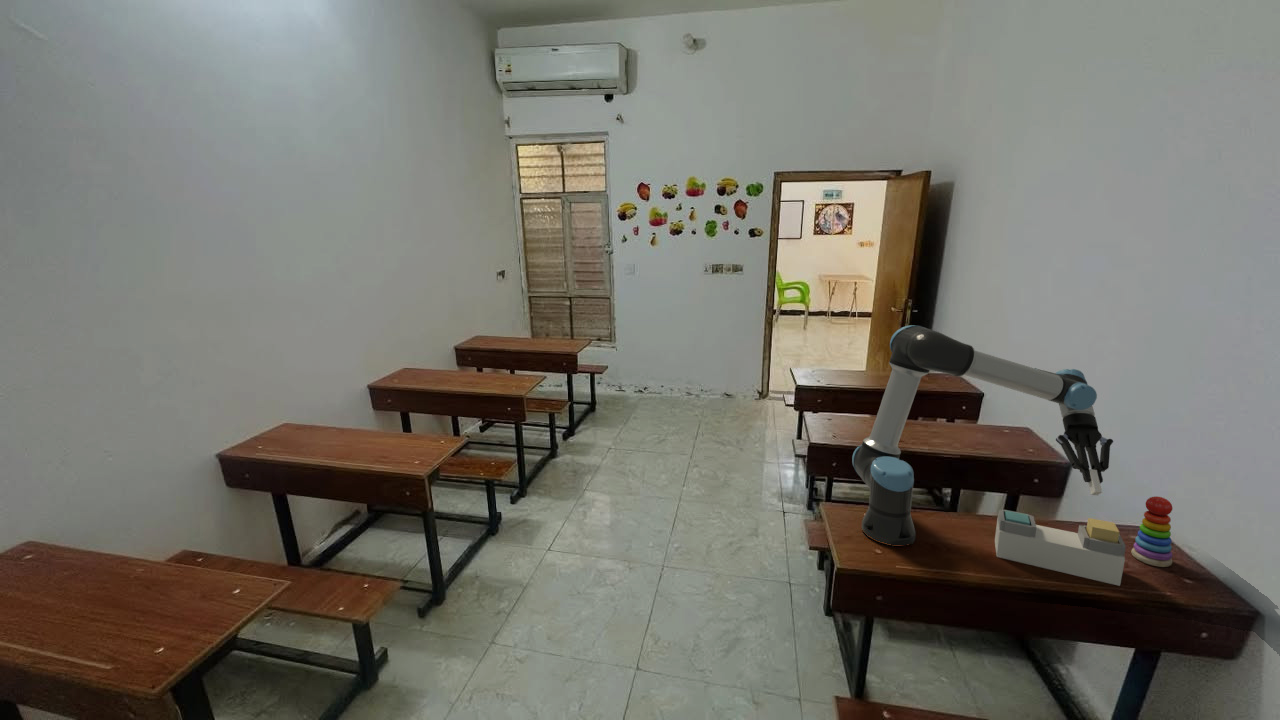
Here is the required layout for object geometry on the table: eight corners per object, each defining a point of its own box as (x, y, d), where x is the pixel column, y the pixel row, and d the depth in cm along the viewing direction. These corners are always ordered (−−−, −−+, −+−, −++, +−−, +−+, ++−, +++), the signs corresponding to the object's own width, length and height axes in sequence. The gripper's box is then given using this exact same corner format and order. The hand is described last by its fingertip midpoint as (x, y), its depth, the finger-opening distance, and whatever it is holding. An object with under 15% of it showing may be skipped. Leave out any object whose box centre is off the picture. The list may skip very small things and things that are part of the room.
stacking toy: (1153, 551, 140) (1165, 491, 136) (1180, 569, 132) (1193, 505, 129) (1122, 550, 141) (1133, 491, 137) (1148, 568, 133) (1160, 505, 129)
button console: (996, 556, 141) (1000, 521, 138) (994, 541, 148) (998, 507, 146) (1120, 586, 127) (1127, 547, 125) (1111, 567, 134) (1117, 530, 132)
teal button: (1005, 529, 140) (1006, 518, 139) (1003, 521, 144) (1005, 510, 143) (1028, 534, 137) (1029, 523, 136) (1026, 525, 141) (1027, 514, 141)
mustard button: (1090, 538, 130) (1092, 526, 129) (1086, 529, 134) (1088, 517, 133) (1117, 544, 127) (1119, 532, 126) (1112, 534, 131) (1114, 522, 131)
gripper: (1100, 424, 148) (1120, 501, 137) (1047, 421, 153) (1061, 494, 141) (1112, 413, 142) (1133, 492, 131) (1056, 410, 147) (1072, 485, 135)
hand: (1096, 493), depth 136 cm, fingers closed
